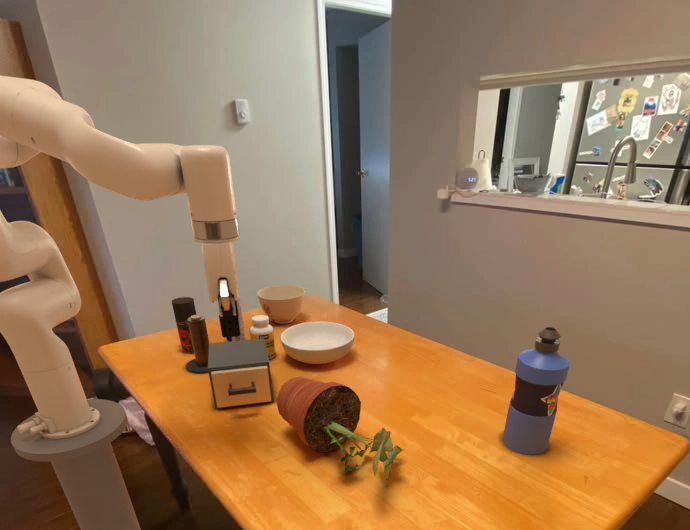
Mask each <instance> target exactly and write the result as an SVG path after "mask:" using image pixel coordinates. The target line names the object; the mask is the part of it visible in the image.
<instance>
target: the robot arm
mask: <svg viewBox="0 0 690 530" xmlns="http://www.w3.org/2000/svg"><path fill="white" fill-rule="evenodd" d="M40 153H43V154H46V155H47V156H51V157H53V158H55V159H58V160H60V161H64V162H66V163H68V164H70V166H71V167H72V168H73V169H74V170H75V171H76V172H77V173H78V174H79V175H81V176H82V177H83V178H85V179H86V180H88V181H89V182H91V183H92V184H94V185H97V186H99V187H101V188H104V189H107V190H110V191H111V192H114V193H117V194H119V195H122V196H125V197H128V198H131V199H134V200H138V201H154V200H159V199H162V198H168V197H173V196H178V195H182V194H185V196H186V201H187V206H188V213H189V216H190V217H189V218H190V223H191V228H192V234H193V238H194V239H193V240H194V242H196V243H199V244H201V253H202V261H203V266H204V272H205V273H204V274H205V280H206V286H207V293H208V299H209V302H210V303H212V304H214V303H215V302H217V303H218V312H219V315H218V319H219V326H220V329H221V330H220V332H221V337H222V338H224V339H225V338H226V337H237V336H240V335H241V334H240V327H239V320H238V317H239V314H238V307H237V299H238V294H239V283H238V282H239V281H238V269H237V259H236V251H235V245H234V244H235V243H234V242H236V241H238V240H240V239H241V234H240V227H239V219H238V211H237V204H236V195H235V188H234V180H233V179H234V178H233V172H232V164H231V158H230V154H229V152H228V150H227V149H226V148H225V147H223V146H222V145H217V144H216V145H215V144H194V145H193V144H192V145H182V144H181V145H180V144H175V143H170V142H169V143H167V142H158V143H157V142H151V143H150V142H149V143H147V142H146V143H134V142H129V141H126V140H124V139H121V138H119V137H116V136H114V135H111V134H109V133H106V132H103V131H101V130H99V129H97V128H96V127H95V123H94V121H93V118H92V117H91V115H90V114H89V113H88V112H87V110H86V109H84V108H83V107H81V106H79V105H77V104H74V103H71V102H69V101H66V100H64V99H63V98H62V97H61V95H60V94H59V93H58V92H57V91H56V90H55V89H54V88H53V87H50V86H49V85H48V84H47V83H44V82H42V81H39V80H35V79H31V78H24V77H23V78H22V77H15V76H9V75H0V169H10V168H15V167H18V166H22V165H23V164H25V163H27V162H29V161H30V160H32V159H33V158H34V157H36V156H38V155H39V154H40ZM69 269H70V268H68V265H67V263H66V261H65V259H64V256H63V255H62V253H61V251H60V249H59V246H58V245H57V243H56V241H55V240H54V239H53V237H52V236H51V235H50V233H48V232H47V231H46V229H44V228H43V227H41V226H40V225H38V224H37V223H34V222H31V221H29V220H15V221H11V222H8V221H7V220H6V218H5V216H4V215H3V212H2V211H1V210H0V283H2V282H7V281H12V280H14V279H17V278H20V277H23V276H27V277H28V279H29V281H27V282H24V283H20V284H17V285H15V286H12V287H10V288H7V289H5V290H2V291H1V292H0V334H1V335H2V336H3V338H4V340H5V341H6V343H7V345H8V346H9V348H10V350H11V352H12V354H13V356H14V359H15V360H16V363H17V365H18V367H19V369H20V371H21V374H22V376H23V379H24V381H25V383H26V386H27V388H28V391H29V392H30V395H31V397H32V400H33V402H34V404H35V407H36V409H37V411H36V412H34V415H36V418H33V419H32V421H30V422H28V423H24V424H22V425H20V424H18V425H17V426H16V428H17V429H18V430H19V432H20V433H21V434H24V433H26V432H29V431H30V432H31V434H35V433H37V432H39V434H40V435H41V436H42V437H44V438H48V439H64V438H70V437H73V436H77V435H80V434H82V433H85V432H87V431H89V430H90V429H92V428H93V427H95V426H96V425H97V424H98V423H99V421H100V419H101V416H100V413H99V411H98V410H97V409H95V408H92V407H89V404H88V402H87V399H88V398H87V396H86V393H85V391H84V388H83V385H82V382H81V380H80V377H79V374H78V372H77V368H76V366H75V363H74V360H73V358H72V354H71V352H70V349H69V347H68V345H67V344H66V343H65V342H64V341H63V340H62V339H61V337H59V336H58V335H57V334H55V332H54V331H53V328H55V327H57V326H58V325H60V324H62V323H64V322H66V321H69V320H70V319H73V318H74V317H76V316H77V315H78V313H80V310H81V308H82V298H81V294H80V291H79V288H78V286H77V284H76V282H75V280H74V278H73V276H72V274H71V272H70V270H69ZM226 339H227V338H226Z"/></svg>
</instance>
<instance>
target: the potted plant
mask: <svg viewBox="0 0 690 530" xmlns="http://www.w3.org/2000/svg"><path fill="white" fill-rule="evenodd" d="M276 407H277V410H278V414H279V415H280V417H281V418H282V419H283V420H284V421H285V422H286V423H287V424H288V425H290V426H291V427H292V428H293V429H294V430H295V431H296V434H297V436H298V438H299V439H300V441H301V442H302V443H303V444H305V445H306V446H308V447H309V448H311V449H313V450H314V451H315V452H319V453H329V452H333V451H335V450H337V449H339V448H340V450H341V452H342V454H344V456H343V457H341V459H340V464H341V463H344V466H345V467H344V473H345V474H347V473H349V472H351V471H352V470H354V469H356V468H357V467H359V465H358V463H357V464H355V465H354V466H349V465H347V464H348V463H349V461H350V462H351V463H353V460H352V459H353V458H355V457H357V456H359V457H360V458H362V457H364V455H365V453H366V452H367V451H368V449H369V448H370V451H369V453H368V455H370V454H371V453H374V452H375V454H374V456H373V458H372V462H371V464H372V465H371V466H372V472H373V476H374V477H376V476H377V472H378V468H379V463H380V462H381V463H383V469H384V470H383V474H384V476H385V478H386V480H387V481H389V475H390V471H391V469H392V466H393V464H394V461H395V459H396V458H397V456H398V455H399V454H401V452H404V449H403V448H401V447H400V446H399V445H395V446H394V443H393V441H392V437H391V431H389V430H387V429H386V428H384V427H381V429H379V430H378V431H377V433H376V434H375V435H374V436H373V438H369V437H366V436H361V435H357V434H356V433H354V432H355V431H356V429H357V427H358V425H359V421H360V417H361V411H362V410H361V408H362V401H361V400H360V397H359V395H358V394H357V393H356V391H355V390H354V389H352V388H351V387H349V386H347V385H345V384H342V383H339V382H336V381H330V382H327V381H326V382H323V381H319V380H315V379H312V378H307V377H304V376H294V377H291V378H290V379H288V380H286V381H285V382H284V383H283V384H282V385H281V387H280V389H279V392H278V394H277V398H276ZM353 438H354V439H356V440H357V441H359V442H361V443H363V444H364V449H362V448H361V447H360V446H359V444H358V443H356V442H355V440H354V439H353ZM348 441H350V442H352V443H353V444H354V445H355V446H349V452H348V451H347V449H345V448H344V446H343V445H345V444H346V443H347V442H348ZM368 442H369V443H368ZM356 447H357V449H359V450H356ZM355 450H356V452H355ZM354 452H355V453H354ZM353 453H354V454H353Z"/></svg>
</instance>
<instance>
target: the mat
mask: <svg viewBox="0 0 690 530" xmlns="http://www.w3.org/2000/svg"><path fill="white" fill-rule="evenodd" d="M185 369H186V370H187V371H188V372H190V373H192V374H209V372H208V366H206V367H199V366H197V364H196V360H195V358H192V359H191V360H189V361H188V362H187V363H186V364H185Z"/></svg>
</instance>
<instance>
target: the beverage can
mask: <svg viewBox="0 0 690 530" xmlns="http://www.w3.org/2000/svg"><path fill="white" fill-rule="evenodd" d="M237 307H238V314H239V317H238V320H239V327H240V334H241V335H240V336H237V337H226V342H231V341H241V340H247V339H246V333H245V332H246V331H245V326H244V325H245V324H244V318H243V311H242V303H241V298H240V294H239V293H238V299H237Z"/></svg>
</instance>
